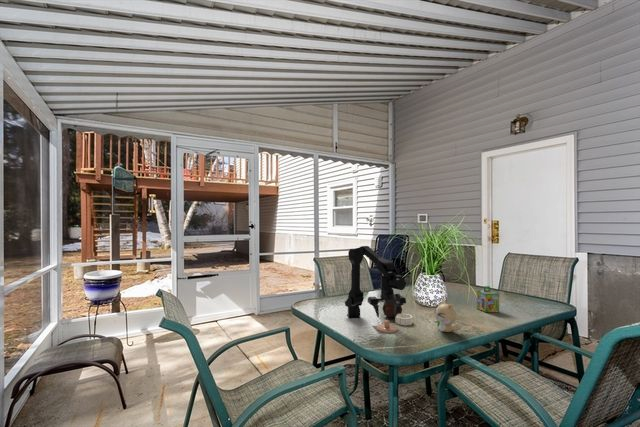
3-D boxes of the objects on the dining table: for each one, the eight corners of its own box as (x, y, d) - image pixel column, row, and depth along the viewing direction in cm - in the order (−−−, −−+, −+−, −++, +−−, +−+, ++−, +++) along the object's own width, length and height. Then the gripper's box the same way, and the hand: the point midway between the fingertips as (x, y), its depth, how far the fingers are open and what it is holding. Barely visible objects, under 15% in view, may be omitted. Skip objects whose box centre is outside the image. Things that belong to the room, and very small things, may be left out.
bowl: (399, 326, 165) (399, 319, 165) (392, 321, 173) (392, 313, 174) (415, 325, 166) (415, 318, 166) (408, 320, 175) (408, 313, 175)
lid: (380, 333, 153) (380, 324, 153) (373, 326, 163) (373, 318, 163) (400, 332, 155) (400, 323, 155) (392, 325, 165) (392, 316, 165)
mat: (379, 335, 152) (379, 334, 152) (372, 327, 164) (372, 326, 164) (403, 334, 154) (403, 332, 154) (393, 325, 166) (393, 324, 166)
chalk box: (486, 313, 187) (486, 288, 188) (476, 309, 196) (476, 285, 197) (500, 312, 189) (499, 287, 189) (489, 308, 198) (488, 284, 198)
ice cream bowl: (402, 316, 185) (402, 321, 171) (383, 315, 188) (381, 319, 174) (402, 298, 187) (402, 301, 172) (383, 297, 190) (381, 299, 175)
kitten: (429, 326, 165) (429, 297, 166) (447, 325, 166) (447, 297, 166) (442, 336, 150) (442, 305, 151) (462, 336, 151) (462, 305, 151)
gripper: (374, 290, 150) (374, 323, 150) (410, 289, 153) (411, 321, 153) (367, 285, 161) (367, 316, 161) (401, 284, 164) (401, 314, 164)
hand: (386, 317), depth 159 cm, fingers open, 9 cm apart
